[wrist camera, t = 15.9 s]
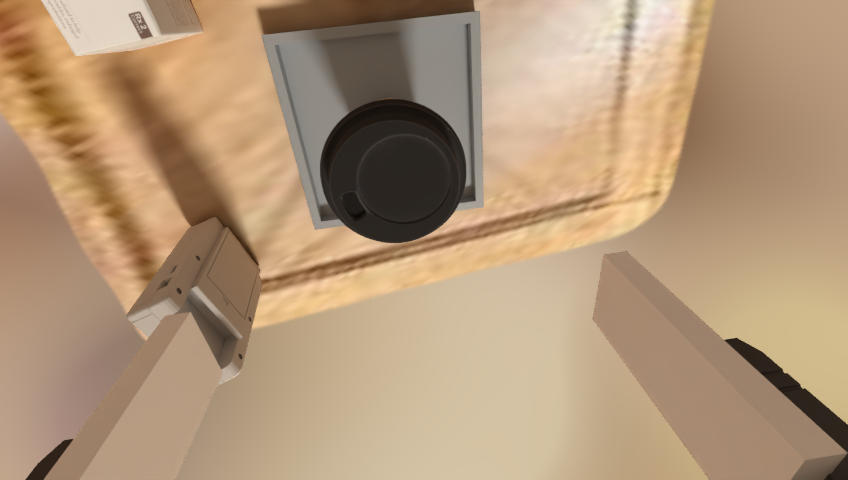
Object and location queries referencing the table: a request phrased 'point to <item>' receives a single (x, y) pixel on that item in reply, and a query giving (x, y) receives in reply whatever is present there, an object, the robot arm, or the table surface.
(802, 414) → the robot arm
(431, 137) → the coffee cup
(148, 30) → the skincare box
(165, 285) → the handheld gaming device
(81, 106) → the table surface
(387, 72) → the grey tray
